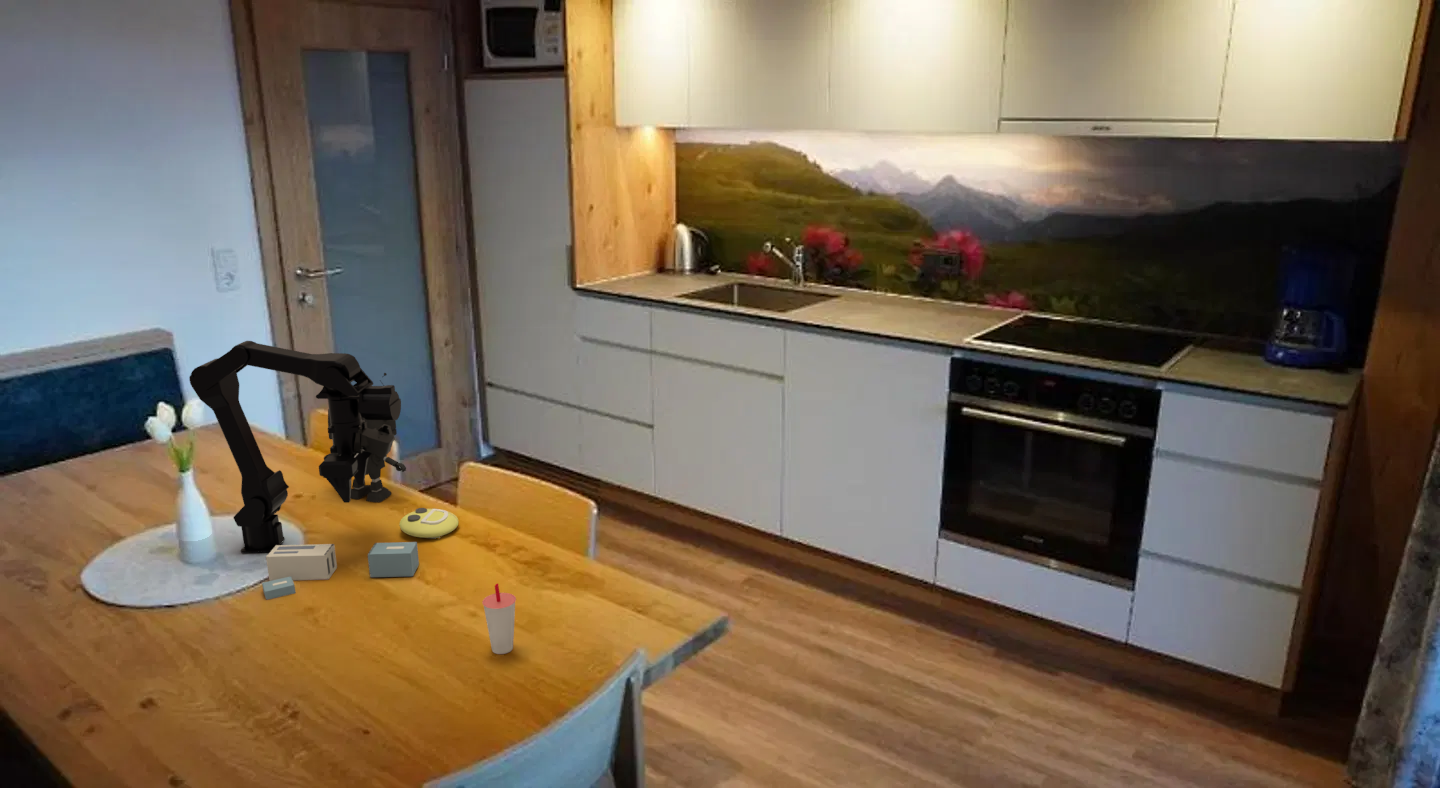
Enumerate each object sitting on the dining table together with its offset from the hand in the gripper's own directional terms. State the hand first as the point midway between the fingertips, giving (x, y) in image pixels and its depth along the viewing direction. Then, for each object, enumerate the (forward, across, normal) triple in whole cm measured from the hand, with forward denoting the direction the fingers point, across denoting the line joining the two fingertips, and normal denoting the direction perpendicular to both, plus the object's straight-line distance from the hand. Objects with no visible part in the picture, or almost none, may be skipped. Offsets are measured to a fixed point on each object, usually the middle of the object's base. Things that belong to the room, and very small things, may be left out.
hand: (354, 493), depth 194 cm
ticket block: (+12, -11, +8) cm, 18 cm away
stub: (+12, -11, -10) cm, 19 cm away
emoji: (+12, +8, -12) cm, 19 cm away
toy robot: (+12, +28, +6) cm, 31 cm away
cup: (+12, -40, -35) cm, 55 cm away
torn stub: (+12, -18, +10) cm, 24 cm away
